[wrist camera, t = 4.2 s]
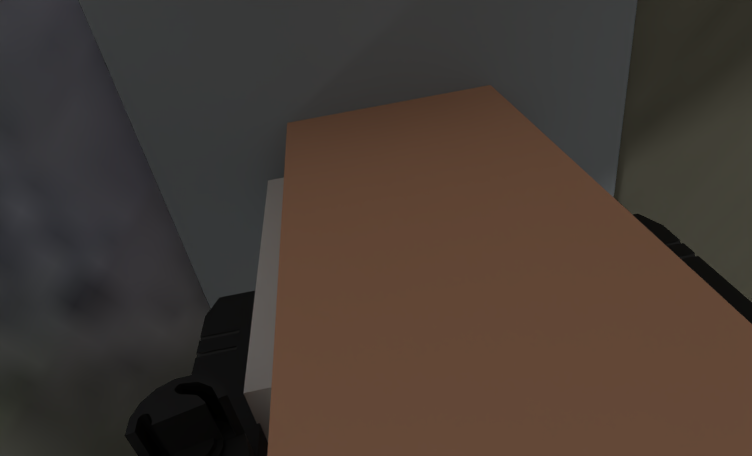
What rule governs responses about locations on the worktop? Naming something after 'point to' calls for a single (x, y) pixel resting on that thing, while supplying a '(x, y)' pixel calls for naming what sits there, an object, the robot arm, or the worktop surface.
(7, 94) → the worktop surface
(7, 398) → the worktop surface
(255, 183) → the mat
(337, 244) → the block
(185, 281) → the worktop surface
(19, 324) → the worktop surface
